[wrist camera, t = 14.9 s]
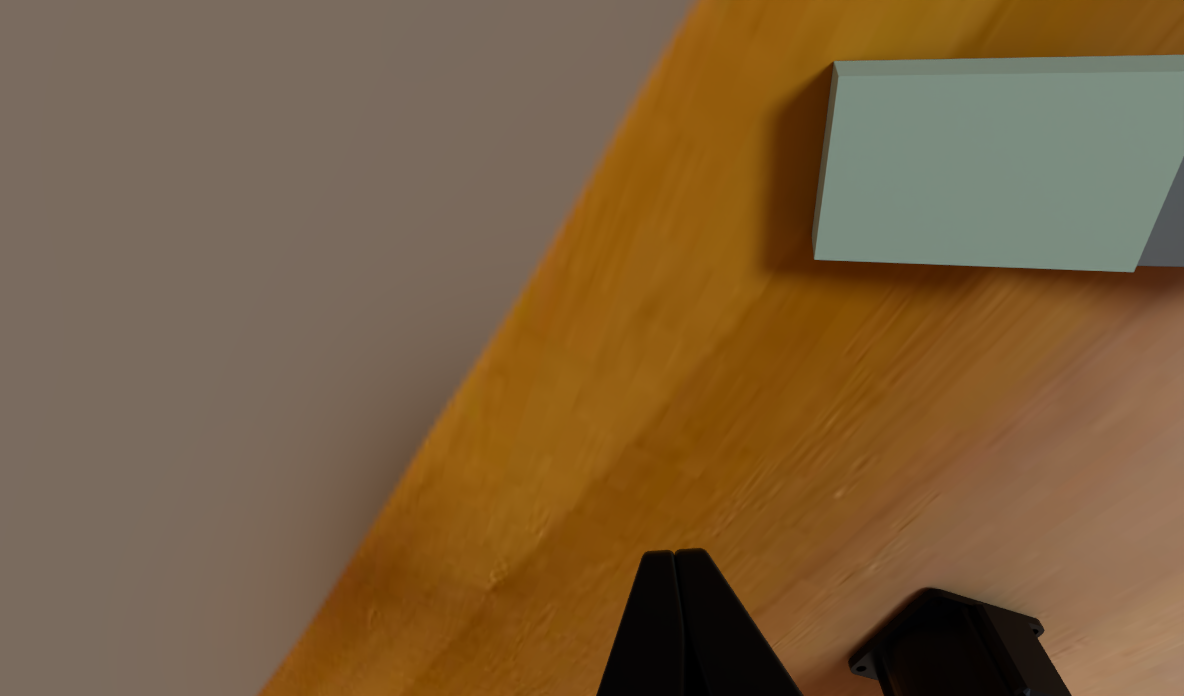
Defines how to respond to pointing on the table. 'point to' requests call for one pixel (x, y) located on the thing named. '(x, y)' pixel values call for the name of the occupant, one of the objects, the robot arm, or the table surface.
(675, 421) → the table surface
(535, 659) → the table surface
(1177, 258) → the domino
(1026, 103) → the sage domino
